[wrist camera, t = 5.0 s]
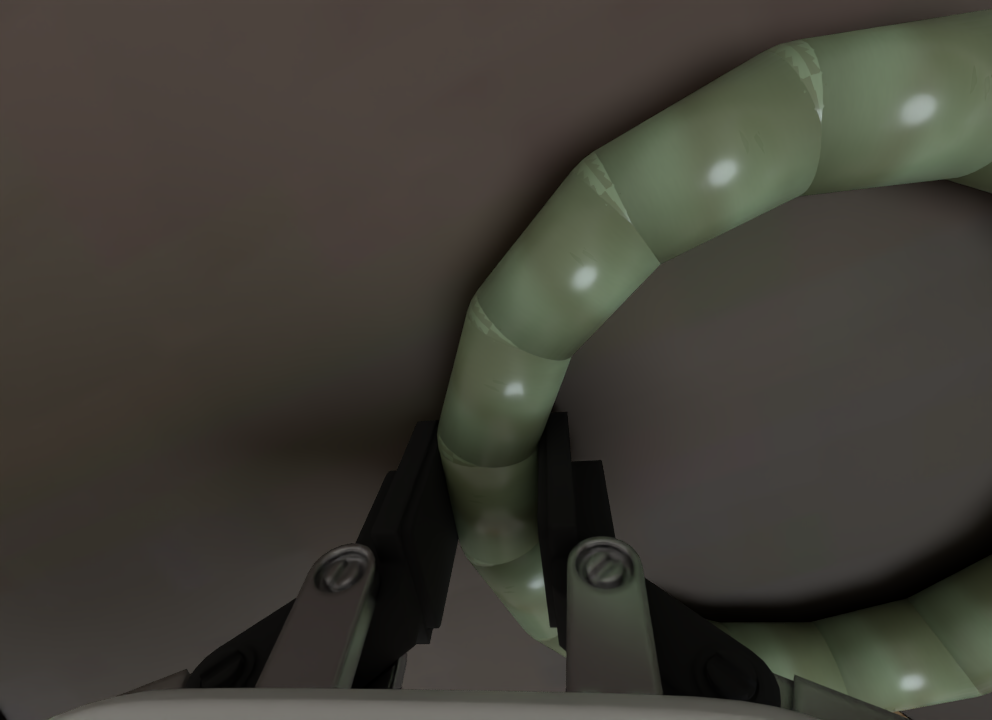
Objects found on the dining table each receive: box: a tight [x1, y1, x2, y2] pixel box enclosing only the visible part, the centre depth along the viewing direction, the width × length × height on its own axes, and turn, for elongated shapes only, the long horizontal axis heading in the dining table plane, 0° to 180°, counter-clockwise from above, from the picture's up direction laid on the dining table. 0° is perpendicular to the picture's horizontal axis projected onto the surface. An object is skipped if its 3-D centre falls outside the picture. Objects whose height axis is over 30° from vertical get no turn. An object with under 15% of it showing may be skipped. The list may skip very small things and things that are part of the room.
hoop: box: [437, 9, 992, 712], centre depth 11 cm, size 17×17×2 cm
